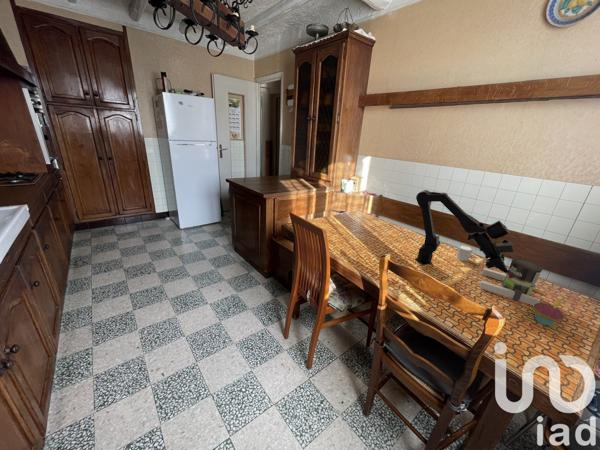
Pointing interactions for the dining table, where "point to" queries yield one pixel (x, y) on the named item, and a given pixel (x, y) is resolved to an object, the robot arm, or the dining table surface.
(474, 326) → the dining table surface
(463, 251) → the shot glass
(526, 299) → the guide track
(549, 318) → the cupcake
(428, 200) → the robot arm
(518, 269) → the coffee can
